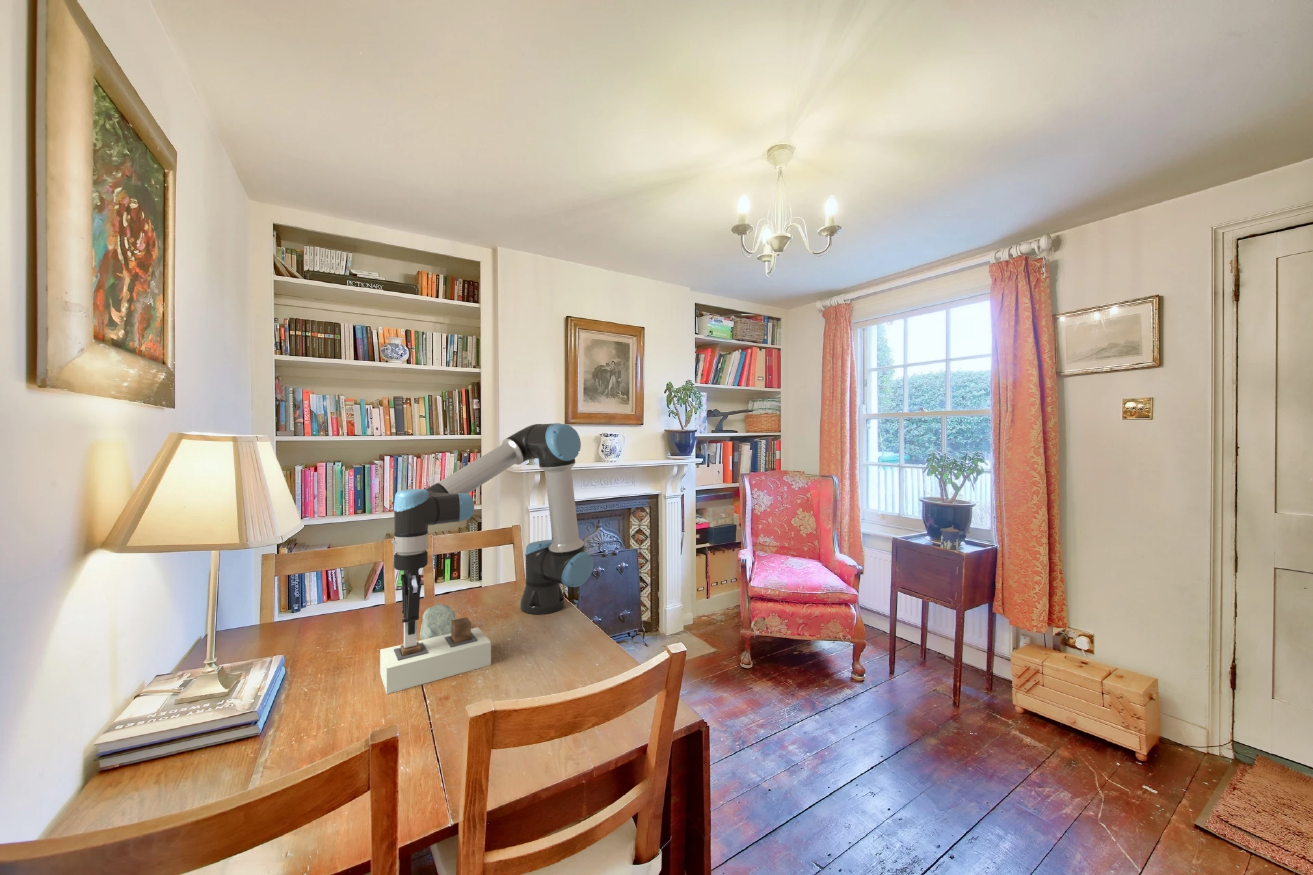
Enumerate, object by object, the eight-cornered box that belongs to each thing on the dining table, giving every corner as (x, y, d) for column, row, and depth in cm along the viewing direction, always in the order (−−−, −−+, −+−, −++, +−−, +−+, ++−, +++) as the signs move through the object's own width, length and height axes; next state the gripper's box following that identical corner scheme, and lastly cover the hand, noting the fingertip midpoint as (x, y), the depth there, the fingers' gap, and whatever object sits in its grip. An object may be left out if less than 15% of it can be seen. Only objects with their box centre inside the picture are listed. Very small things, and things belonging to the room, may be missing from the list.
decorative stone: (423, 631, 145) (410, 613, 139) (458, 614, 149) (447, 595, 143) (429, 667, 136) (416, 649, 130) (467, 647, 139) (456, 629, 133)
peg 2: (466, 639, 128) (466, 617, 128) (470, 644, 125) (470, 621, 125) (451, 642, 126) (451, 620, 126) (454, 648, 123) (455, 625, 123)
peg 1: (418, 664, 121) (418, 641, 121) (421, 671, 118) (421, 647, 118) (400, 669, 119) (400, 645, 119) (403, 675, 116) (403, 651, 116)
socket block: (477, 648, 134) (477, 625, 134) (490, 664, 124) (490, 640, 124) (380, 673, 120) (380, 647, 120) (386, 694, 110) (386, 666, 110)
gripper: (390, 548, 121) (389, 640, 121) (398, 559, 111) (397, 659, 111) (422, 544, 126) (421, 633, 126) (432, 554, 115) (432, 651, 115)
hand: (410, 645), depth 118 cm, fingers closed
